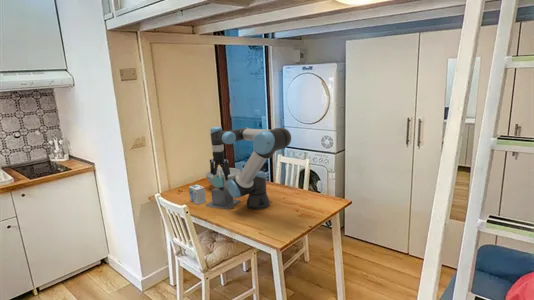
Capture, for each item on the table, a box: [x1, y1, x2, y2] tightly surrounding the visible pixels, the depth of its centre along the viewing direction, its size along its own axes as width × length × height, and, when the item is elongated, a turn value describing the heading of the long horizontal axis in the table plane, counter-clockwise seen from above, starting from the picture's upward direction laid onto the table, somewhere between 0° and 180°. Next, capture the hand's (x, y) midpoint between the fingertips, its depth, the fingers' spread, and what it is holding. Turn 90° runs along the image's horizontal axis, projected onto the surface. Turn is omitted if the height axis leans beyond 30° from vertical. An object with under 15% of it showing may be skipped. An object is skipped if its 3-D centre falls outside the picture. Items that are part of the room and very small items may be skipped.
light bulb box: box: [188, 184, 207, 205], centre depth 230 cm, size 11×7×11 cm, turn 40°
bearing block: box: [205, 186, 241, 210], centre depth 222 cm, size 18×14×11 cm
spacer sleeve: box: [213, 175, 228, 187], centre depth 219 cm, size 6×6×6 cm
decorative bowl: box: [205, 167, 242, 188], centre depth 256 cm, size 27×27×12 cm
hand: (221, 184), depth 220 cm, fingers closed on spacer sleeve, 6 cm apart
